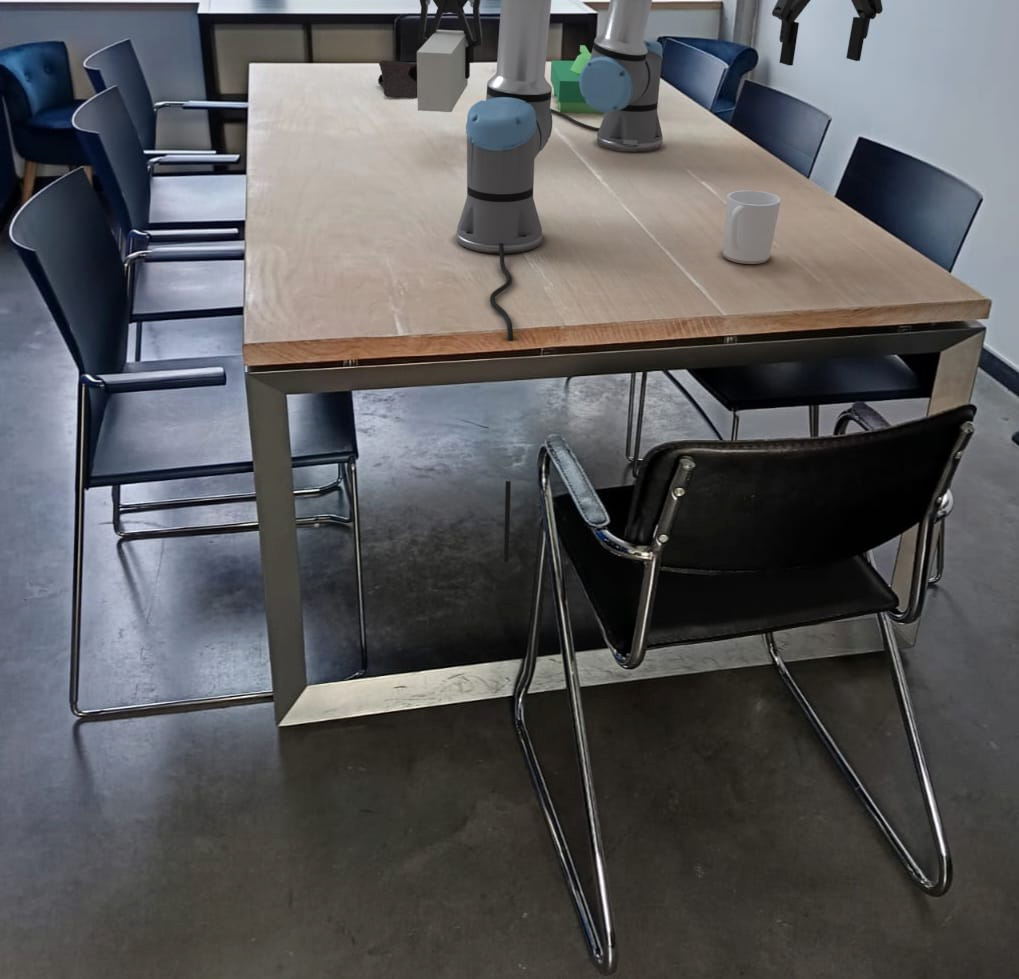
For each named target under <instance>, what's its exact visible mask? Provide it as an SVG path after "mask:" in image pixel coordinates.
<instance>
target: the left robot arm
mask: <svg viewBox="0 0 1019 979" xmlns="http://www.w3.org/2000/svg"><path fill="white" fill-rule="evenodd" d="M810 1H811V0H777V1H776V3H775V5H774V7H773V9H772V12H771V15H772V16H773V17H775V18H777V19H778V20H780V21H781V25H780V31H779V32H780V33H779V42H780V43H781V49H780V55H779V64H782V65H785V66H794V60H795V54H796V46H797V40H798V33H799V28H800V27H799V25H800V22H799V21H798V22H797V19H798V17H800V15H801V13H802V12H803V11H804V10H805V8H806V7H807V5H808V4H809V3H810ZM850 2H851V3H852V5H853V7H854V10H855V11H856V14H857V16H853V17H852V22H851V28H850V34H849V40H848V46H847V51H846V57H845V59H847V60H851V61H855V62H860V61H861V59H862V58H861V57H862V52H863V46H864V40H866V39H867V37H868V35H869V29H870V23H871V20H875V18H876V17H877V14H878V15H880V14H881V13H883V3H882V0H851V1H850ZM551 9H552V0H501V2H500V16H499V27H498V28H499V30H498V45H497V57H496V58H497V60H496V73H495V74H494V75H493V76H492V77H490V79H488V81H486V82H487V83H486V96H485V100H480V101H477V102H475V103H474V104H473V105H472V106H471V107H470V108H469V109H468V111H467V119H466V123H465V130H466V131H465V133H466V192H467V193H466V198H465V202H464V205H463V209H462V211H461V214H460V218H459V220H458V224H457V228H456V241H457V243H458V244H459V245H461V246H462V247H464V248H466V249H468V250H470V251H475V252H479V253H486V254H497V255H499V266H500V269H501V271H502V273H503V274H504V276H505V277H506V281H505V283H504V284H502V285H501V286H500V287H498V288H496V289H495V290H493V291H492V293H491V294H490V296H489V302H490V305H491V306H492V307H493V308H494V309H495V310H496V312H498V313H499V314H500V315H501V316H502V317H503V319H504V321H505V323H506V329H507V341H509V342H513V341H514V329H513V322H512V320H511V317H510V316H509V315H508V313H507V311H506V310H505V309H504V308H502V307H501V306H500V305H499V304H498V303H497V301H496V299H495V298H496V297H497V296H498V295H499V294H500V293H502V292H503V291H505V290H507V289H508V288H509V287H510V285H511V283H512V275H511V274H510V272H509V271H508V268H507V267H506V262H505V255H506V254H507V255H508V254H517V253H524V252H527V251H530V250H533V249H536V248H538V247H539V246H540V245H541V244H542V243H543V229H542V224H541V221H540V220H541V219H540V218H539V214H538V213H539V212H538V210H537V206H536V204H535V199H534V183H535V181H534V180H535V159H536V158H537V156H538V155H539V153H540V152H541V151H543V149H544V148H545V146H546V145H547V144H548V142H549V139H550V138H551V134H552V131H553V115H552V114H553V113H551V109H552V108H551V102H552V91H553V86H552V84H550V83H549V81H548V80H547V79H546V77H545V76H546V66H547V65H546V64H547V54H548V53H547V52H548V42H549V30H550V22H551V20H550V19H551ZM511 483H512V482H511V480H506V481H505V490H504V492H505V493H504V494H505V496H504V535H503V536H504V539H503V540H504V542H503V545H504V546H503V562H504V563H509V562H510V526H511V525H510V524H511V487H512V486H511V485H512V484H511Z"/></svg>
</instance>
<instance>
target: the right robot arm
mask: <svg viewBox="0 0 1019 979" xmlns="http://www.w3.org/2000/svg"><path fill="white" fill-rule="evenodd" d="M481 1H482V0H432V2H433V3H434V5H435V6H436V8H437V9H436V11H435V14H434V17H433V21H432V24H431V26H430V30H429V32H428V35H427V37H426V30H427V23H428V22H427V21H428V12H429V5H430V4H431V0H419V4H420V16H419V25H418V32H417V33H418V35H417V42H418V43H419V44H422V45H424V44H425V42H426V41H427V40H428V39H429V38H430V37H431V36H432V35H433V34H434V33H435V32H436V31H437V30H438V28H439V26H440V23H441V20H442V17H443V15H444V14H452V15H456V16H457V18H458V21H459V23H460V26H461V29H462V31H463V32H464V34H465V38H466V40H467V43H468V46H467V47H466V48H465V78H466V79H470V77H471V64H474V62H475V59H476V57H475V52H476V51H475V49H476V47H479V46H481V45H482V44H483V41H484V40H483V29H482V22H481V21H482V20H481V12H480V8H481V7H480V6H481ZM468 2H469V6H470V7H471V8H472V18H473V27H474V34H475V39H474V37H473V33H472V30H471V27H470V25H469V22H468V19H467V17H466V12H465V10H464V7H465V6H466V4H467V3H468ZM652 3H653V0H609V5H608V9H607V13H606V18H605V23H604V28H603V31H602V33H600V35H598V36H597V37H595V38H594V40H593V41H594V42H593V46H592V51H591V53H592V54H591V59H590V61H589V62H587V63H586V65H585V66H584V68H583V69H582V72H581V74H580V80H579V85H580V91H581V94H582V96H583V97H584V99H585V101H586V102H587V103H588V105H590V106H591V107H592V108H593V109H595V110H597V111H600V112H605V114H603V118H602V121H601V123H600V126H599V127H596V126H592V125H588V124H586V123H583V122H581V121H578V120H577V119H574V118H572V117H571V116H569V115H567V114H566V113H560V112H559V110H556V109H553V108H550V109H551V114H554V115H556V116H559V117H560V118H563V119H565V120H567V121H569V122H570V123H572V124H574V125H576V126H579V127H581V128H584V129H586V130H589V131H592V132H593V131H594V132H597V133H596V145H598V146H600V147H602V148H603V149H607V150H611V151H615V152H625V153H644V152H645V153H647V152H653V151H656V150H658V149H661V148H662V147H663V140H664V136H663V132H662V127H661V122H660V119H659V113H658V107H659V106H658V105H659V96H660V84H661V75H662V74H661V72H662V64H663V45H662V43H660V42H658V41H655V40H648V39H647V40H646V39H644V38H645V34H646V30H647V26H648V21H649V16H650V12H651V8H652Z"/></svg>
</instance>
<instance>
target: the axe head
mask: <svg viewBox="0 0 1019 979" xmlns="http://www.w3.org/2000/svg"><path fill="white" fill-rule="evenodd" d="M378 66H379V68H380V72H381V74H379V75H378V79H377V84H378V85H379V86H380V87H381V88H382V89H383V95H384V96H385V97H388V98H394V99H395V98H396V99H403V98H405V99H406V98H407V99H411V98H418V93H417V62H410V61H408V62H407V61H397V60H388V59H387V60H380V61H379V62H378Z"/></svg>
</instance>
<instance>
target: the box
mask: <svg viewBox="0 0 1019 979" xmlns="http://www.w3.org/2000/svg"><path fill="white" fill-rule="evenodd" d="M467 46H468V43H467V40H466V38H465V34H464V32H463V30H449V29H437V31H436V32H435V33H434V34H433V35H432V36H431V37H430V38H429V39H428V40H427V41H426V42H425V44H422V46H421V47H420V48H419V49H418V50H417V51H416V63H417V93H418V97H417V111H418V112H419V111H420V112H438V113H439V112H440V113H452V112H453V110H454V108H455V107H456V105H457V103H458V101H459V100H460V98H461V96H462V95H463V93H464V92H465V90H466V89H467V87H468V84H469V82H468V81H469V80H468V79H469V78H468V79H466V78H465V48H466V47H467Z"/></svg>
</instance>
